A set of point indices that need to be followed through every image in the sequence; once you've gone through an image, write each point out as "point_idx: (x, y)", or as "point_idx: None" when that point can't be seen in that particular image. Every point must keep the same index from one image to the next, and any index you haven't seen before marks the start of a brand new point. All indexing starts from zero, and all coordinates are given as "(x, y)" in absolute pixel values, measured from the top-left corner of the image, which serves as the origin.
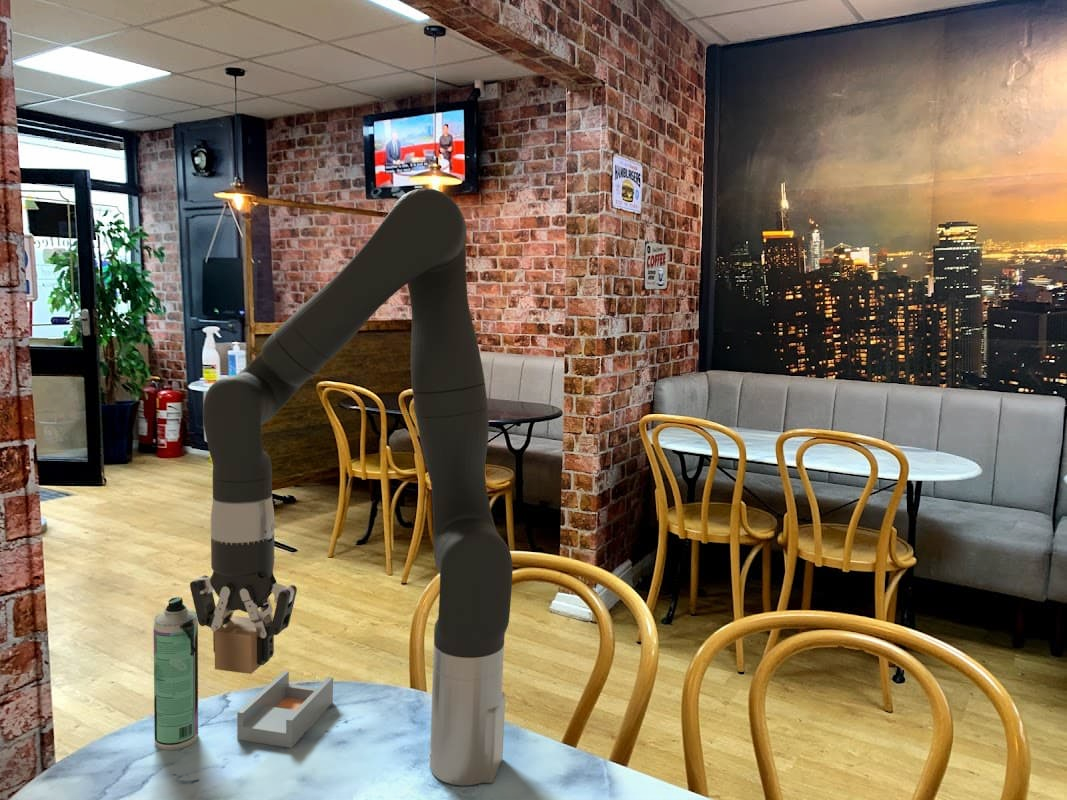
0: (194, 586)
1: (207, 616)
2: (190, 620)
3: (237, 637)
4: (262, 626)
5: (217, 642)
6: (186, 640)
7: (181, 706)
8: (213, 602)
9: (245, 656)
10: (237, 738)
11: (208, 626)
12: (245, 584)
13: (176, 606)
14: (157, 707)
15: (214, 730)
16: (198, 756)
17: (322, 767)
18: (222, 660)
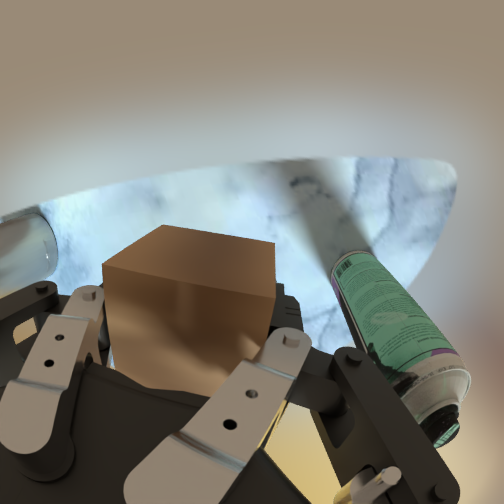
0: (438, 490)
1: (337, 381)
2: None
3: (163, 270)
4: (70, 305)
5: (262, 274)
6: (390, 358)
7: (358, 280)
8: (330, 449)
9: (160, 241)
10: (276, 281)
11: (327, 354)
12: (37, 487)
13: (441, 422)
14: (393, 277)
15: (314, 299)
16: (313, 238)
17: (145, 228)
18: (246, 247)
